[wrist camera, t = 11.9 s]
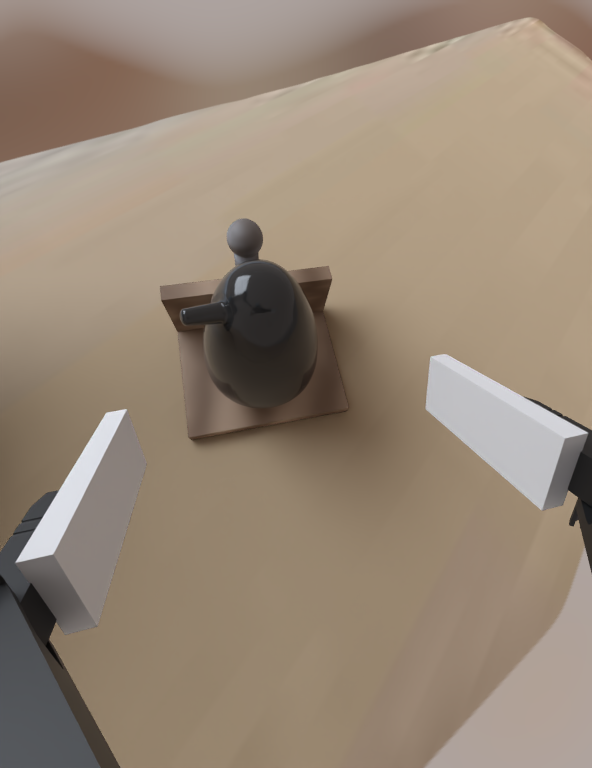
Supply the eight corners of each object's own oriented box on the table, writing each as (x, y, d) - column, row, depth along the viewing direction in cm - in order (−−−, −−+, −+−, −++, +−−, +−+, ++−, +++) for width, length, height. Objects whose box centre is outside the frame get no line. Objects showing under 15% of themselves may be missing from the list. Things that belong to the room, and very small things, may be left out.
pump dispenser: (195, 349, 35) (145, 242, 21) (284, 314, 37) (295, 195, 23) (234, 437, 32) (208, 382, 18) (328, 392, 34) (371, 313, 20)
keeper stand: (191, 439, 33) (141, 396, 20) (178, 319, 37) (130, 220, 24) (346, 410, 35) (392, 355, 22) (317, 301, 40) (341, 200, 26)
